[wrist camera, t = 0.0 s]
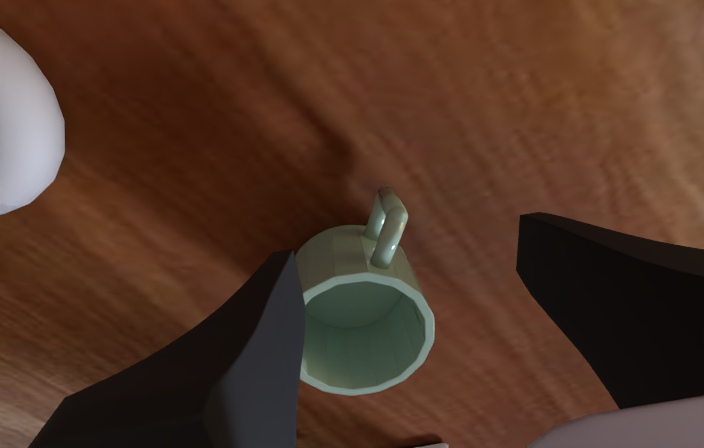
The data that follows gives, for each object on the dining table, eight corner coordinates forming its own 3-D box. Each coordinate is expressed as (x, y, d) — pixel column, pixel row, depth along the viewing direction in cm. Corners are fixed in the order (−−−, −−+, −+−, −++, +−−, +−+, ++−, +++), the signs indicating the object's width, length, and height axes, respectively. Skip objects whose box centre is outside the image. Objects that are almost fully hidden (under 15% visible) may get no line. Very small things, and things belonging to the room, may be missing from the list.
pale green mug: (387, 337, 26) (404, 404, 21) (276, 316, 24) (266, 383, 20) (447, 195, 22) (485, 236, 17) (318, 160, 20) (318, 193, 15)
